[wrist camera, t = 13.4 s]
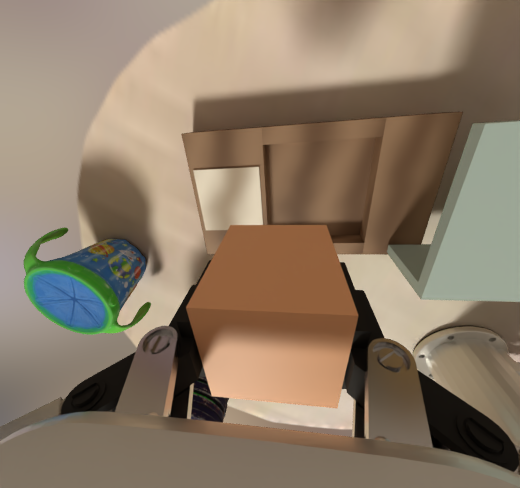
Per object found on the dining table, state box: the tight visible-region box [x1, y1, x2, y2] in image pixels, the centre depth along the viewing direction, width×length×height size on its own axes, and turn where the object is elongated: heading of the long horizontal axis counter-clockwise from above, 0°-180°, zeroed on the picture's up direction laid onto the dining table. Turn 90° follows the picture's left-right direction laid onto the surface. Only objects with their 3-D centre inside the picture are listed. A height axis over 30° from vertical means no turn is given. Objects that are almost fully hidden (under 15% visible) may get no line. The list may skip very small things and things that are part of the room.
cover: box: [387, 120, 520, 302], centre depth 18 cm, size 12×13×8 cm
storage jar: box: [191, 377, 229, 423], centre depth 34 cm, size 10×10×15 cm
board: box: [182, 112, 463, 254], centre depth 25 cm, size 25×14×3 cm, turn 94°
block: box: [186, 225, 358, 408], centre depth 10 cm, size 5×5×6 cm
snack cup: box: [24, 228, 151, 334], centre depth 30 cm, size 16×10×10 cm
